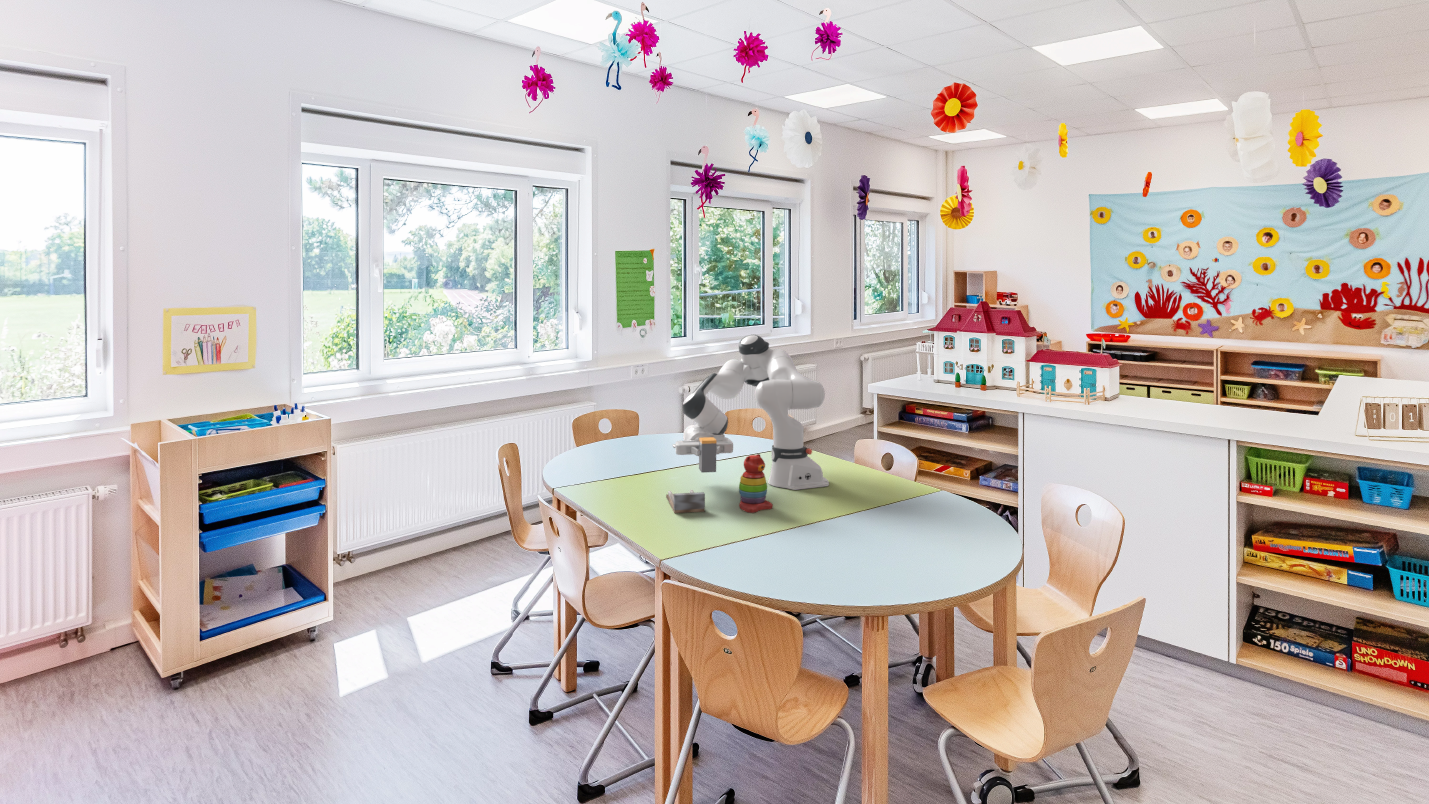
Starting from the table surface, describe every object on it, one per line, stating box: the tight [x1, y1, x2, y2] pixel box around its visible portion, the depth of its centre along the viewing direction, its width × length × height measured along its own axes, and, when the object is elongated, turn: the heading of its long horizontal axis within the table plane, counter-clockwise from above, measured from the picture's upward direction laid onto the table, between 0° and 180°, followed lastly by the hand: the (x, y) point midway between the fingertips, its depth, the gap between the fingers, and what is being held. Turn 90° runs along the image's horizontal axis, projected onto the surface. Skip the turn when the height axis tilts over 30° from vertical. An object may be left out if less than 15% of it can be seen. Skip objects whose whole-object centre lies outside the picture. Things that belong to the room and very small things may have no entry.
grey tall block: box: [698, 437, 717, 473], centre depth 260 cm, size 5×5×11 cm
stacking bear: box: [738, 453, 774, 514], centre depth 254 cm, size 11×10×18 cm
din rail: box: [665, 489, 706, 514], centre depth 257 cm, size 10×18×6 cm, turn 12°
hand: (708, 452), depth 259 cm, fingers closed on grey tall block, 5 cm apart
